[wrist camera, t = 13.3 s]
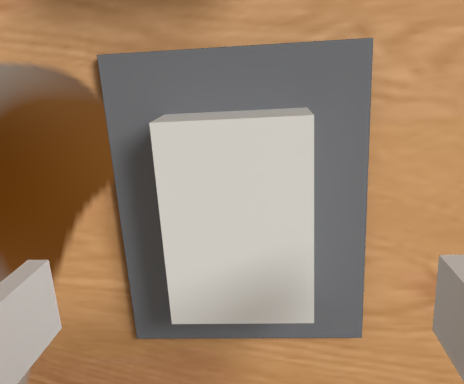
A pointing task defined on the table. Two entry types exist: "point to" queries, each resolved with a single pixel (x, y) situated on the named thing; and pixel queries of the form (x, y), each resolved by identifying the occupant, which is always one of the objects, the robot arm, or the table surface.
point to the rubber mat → (239, 99)
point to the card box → (237, 214)
